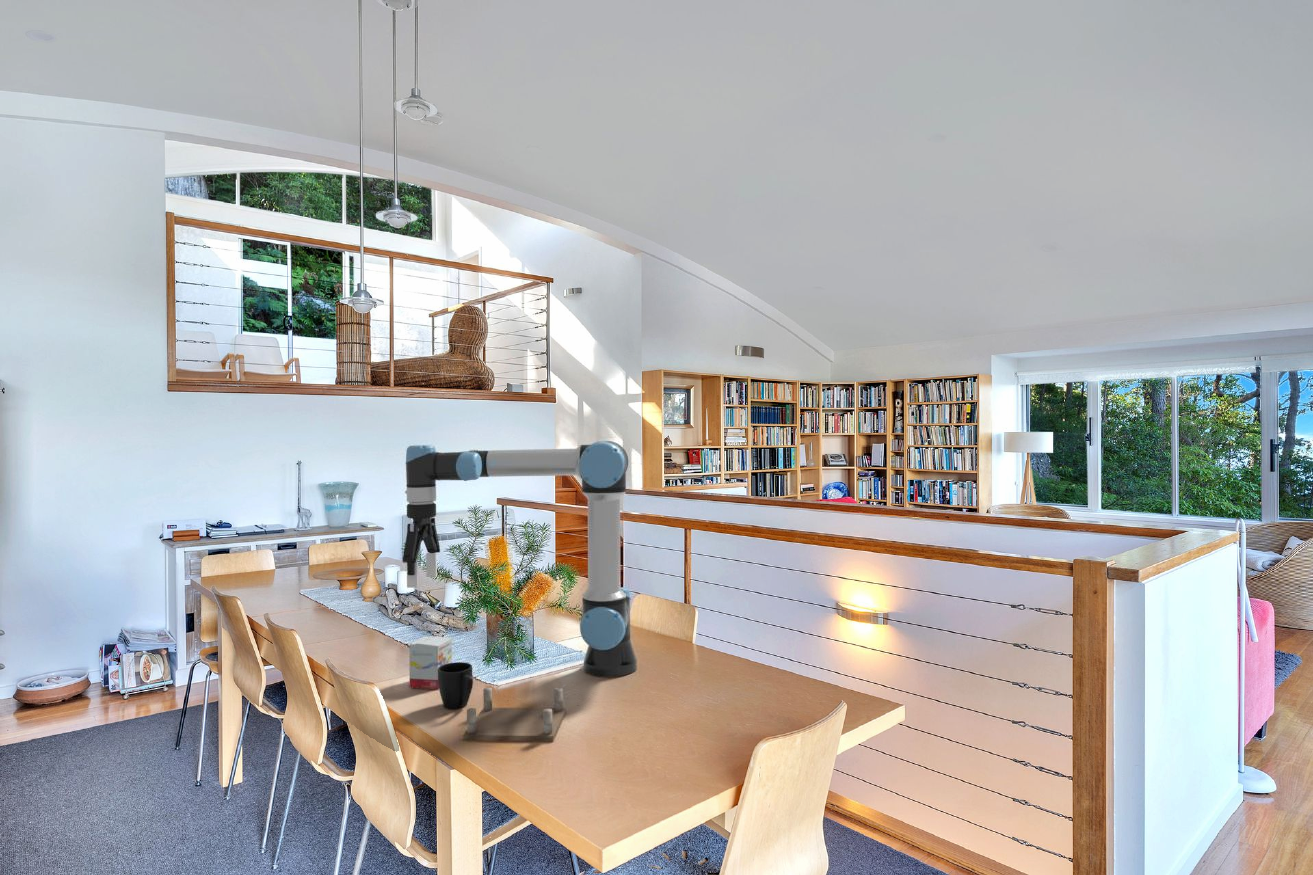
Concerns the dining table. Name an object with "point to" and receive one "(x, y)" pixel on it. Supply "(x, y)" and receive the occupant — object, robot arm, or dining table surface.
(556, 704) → the brown board with pegs
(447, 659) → the ink box
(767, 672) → the dining table surface
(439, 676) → the mug
